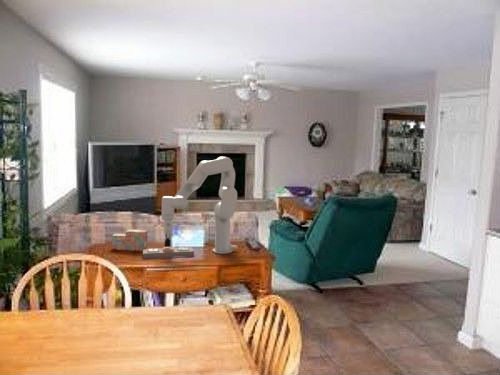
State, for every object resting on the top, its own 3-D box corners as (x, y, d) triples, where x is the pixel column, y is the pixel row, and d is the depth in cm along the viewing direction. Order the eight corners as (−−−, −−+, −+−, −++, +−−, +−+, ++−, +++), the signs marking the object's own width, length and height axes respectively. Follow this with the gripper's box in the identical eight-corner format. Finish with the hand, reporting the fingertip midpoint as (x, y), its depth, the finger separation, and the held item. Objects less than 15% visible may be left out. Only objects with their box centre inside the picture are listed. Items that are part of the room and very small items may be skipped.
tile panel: (192, 251, 278) (192, 247, 278) (193, 256, 269) (193, 251, 268) (143, 254, 272) (143, 249, 271) (142, 258, 262) (142, 253, 262)
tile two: (187, 251, 275) (187, 246, 275) (188, 253, 270) (188, 249, 270) (178, 251, 274) (178, 247, 274) (178, 253, 269) (178, 249, 268)
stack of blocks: (111, 249, 282) (111, 230, 280) (115, 247, 288) (115, 228, 286) (144, 251, 279) (144, 231, 278) (147, 248, 286) (147, 229, 284)
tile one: (157, 252, 271) (157, 248, 271) (158, 254, 266) (158, 250, 266) (148, 252, 270) (148, 248, 270) (148, 255, 265) (148, 250, 264)
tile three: (172, 250, 273) (172, 246, 273) (173, 252, 268) (173, 248, 268) (163, 250, 272) (163, 246, 272) (163, 253, 267) (163, 249, 266)
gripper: (174, 218, 261) (174, 249, 263) (173, 214, 276) (173, 243, 278) (161, 219, 259) (161, 249, 261) (161, 214, 274) (160, 243, 276)
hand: (167, 246), depth 269 cm, fingers closed
